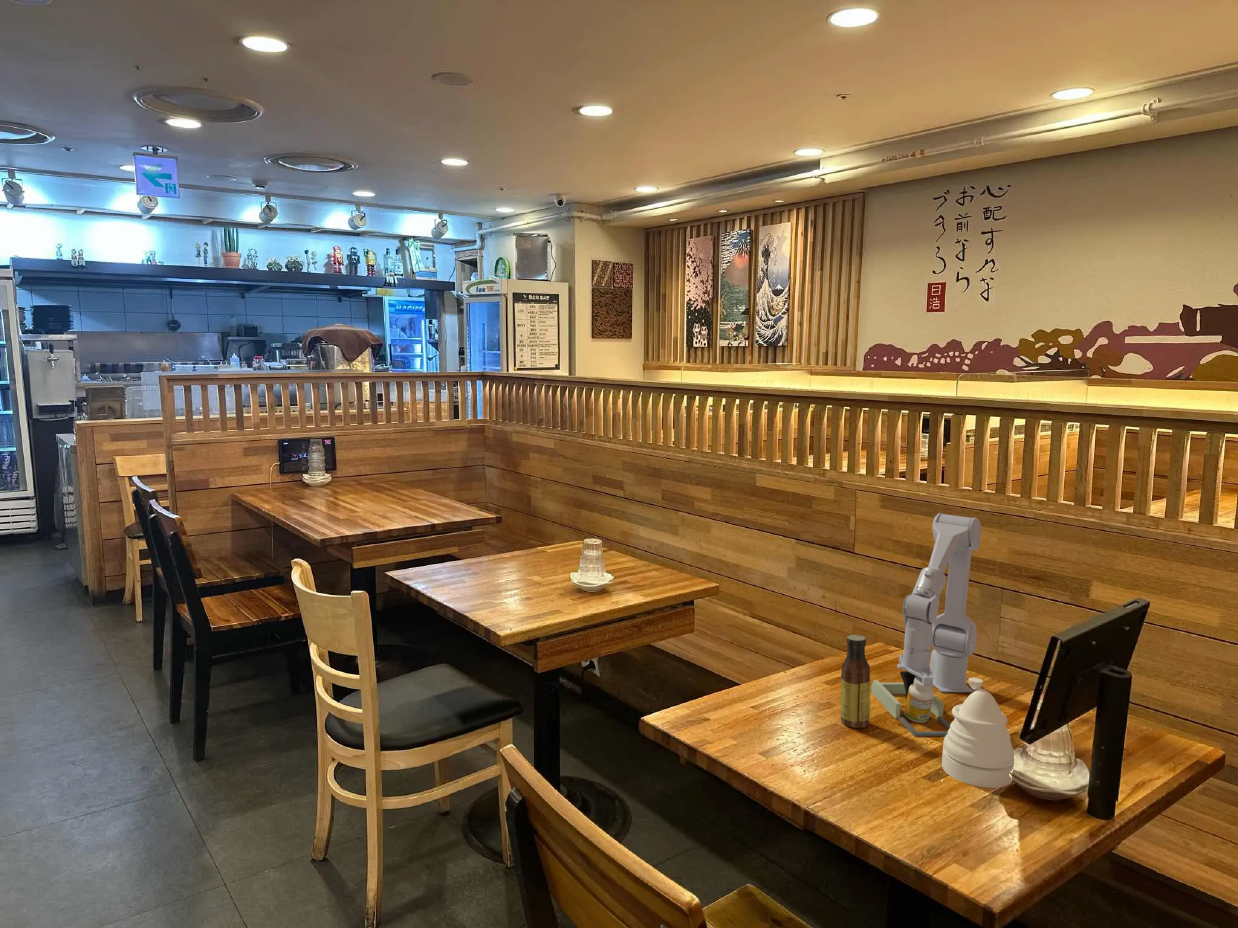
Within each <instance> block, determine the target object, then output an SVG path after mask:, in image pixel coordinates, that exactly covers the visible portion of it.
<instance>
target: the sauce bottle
mask: <svg viewBox="0 0 1238 928" xmlns="http://www.w3.org/2000/svg"><path fill="white" fill-rule="evenodd" d="M846 644H847V650H846V651H847V652H846V658H845V659H844V662H843V663H842V665H841V674H840V675H841V677H840V678H841V680H840V722H842V724H843V725H845V726H846V727H849V728H854V729H863V728H867V727H868V726H869V723H870V716H871V714H870V712H871V711H870V710H871V668H870V667H871V665H870V664H869V662H868V660H867V658H866V654H865V653H866V645H867V638H866V637H865V636H863V635H859V634H850V635H848V636H846Z"/></svg>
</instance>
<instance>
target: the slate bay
mask: <svg viewBox="0 0 1238 928" xmlns="http://www.w3.org/2000/svg"><path fill="white" fill-rule="evenodd" d="M897 720H898V721H899V722H900V723H901V724H902V725H903V726H904V727H905V728H906V729H907V730H908V732H910V734H911V735H912V736H913V737H945V736H946V735H947V734H948V730H949V728H950V725H951V723H949V722H948V720H946V719H945V718H944V716H943V717H936V720H937V721H938V722H939V723H940V724H942V726H944V727H945V729H946V730H945V731H942V730H941V731H939V730H938V731H935V730H934V731H933V730H932V731H917V730H916V729H915V728H914V727H913V726H912V724H910V722H909V721H907V719H906V718H905V717H904V716H900V717H899V719H897Z"/></svg>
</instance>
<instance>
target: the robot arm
mask: <svg viewBox="0 0 1238 928" xmlns="http://www.w3.org/2000/svg"><path fill="white" fill-rule="evenodd" d="M931 529H932V530H931V531H932V533H933V539H934V545H933V549H932V553H931V557H930V559H929V562H928V565H927V567H924V568H922V569H921V570H920V573H919V576H918V577H917V580H916V583H915V585H914V587H913V590H912V593H910V594H908V595H906V597H905V598H904V600H903V604H902V615H903V626H904V627H905V628H904V629H905V631H904V641H903V652H902V654H899V656H898V663H897V666H896V667H897V668H898V669H899V670H904V671H900V672H899V675H900V677H901V679H902V683H904V686H905V692H906V694H905V699H906V700H907V695H908V691H909V687H910V685H911V684H913V683H914V679H915V677H916V676H917V677H919V678H921V680H922V685H924V686H932V685H933V687H935V688H936V689H937V690H938V691H940V692H941V693H973V692H974V689H972V688H971V687H969V686H968V685H967V673H968V660H969V656H971V655H972V654H974V653H975V650H976V648H977V645H978V644H977V643H978V635H977V625H976V623H975V622H974V621H973V620H972V619H971V618H970V617H969V616H968V615H967V614H966V613H967V612H966V611H967V604H968V603H967V602H968V593H969V590H968V589H969V580H970V571H971V559H972V554H973V551H976V550H979V549H980V545H981V535H982V524H981V522H980V520H979V518H978V517H969V516H961V515H954V514H945V513H943V512H938V513H937V514H936V515H935V516H934V519H933V521H932V528H931ZM947 567H948V573H947V577H946V575H945V573H944V572H945V571H946V569H947ZM946 581H947V582H946ZM946 583H947V584H946ZM945 584H946V594H945V601H944V602H945V604H944V606H945V607H944V612H943V613H941V614H938V613H939V608H940V602H941V601H940V597H941V594H942V592H943V589H944V587H945ZM931 647H934V649H933V650H931V649H932V648H931Z"/></svg>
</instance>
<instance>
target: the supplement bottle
mask: <svg viewBox="0 0 1238 928" xmlns="http://www.w3.org/2000/svg"><path fill="white" fill-rule="evenodd" d="M933 688H934V685H932V686H924V685H922V680H921V678H919V677H917V676H916V677H915V679H914V683H913V684H911V685H910V687H909V691H908V695H907V700H906V701H905V706H904V710H903V711H904V716H905V717H906V718H907V719H908V720H909V721H912V722H915V723H926V722H927V721H929V719H930V715H931V707H932V702H933V698H934V695H935V691H934V689H933Z"/></svg>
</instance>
